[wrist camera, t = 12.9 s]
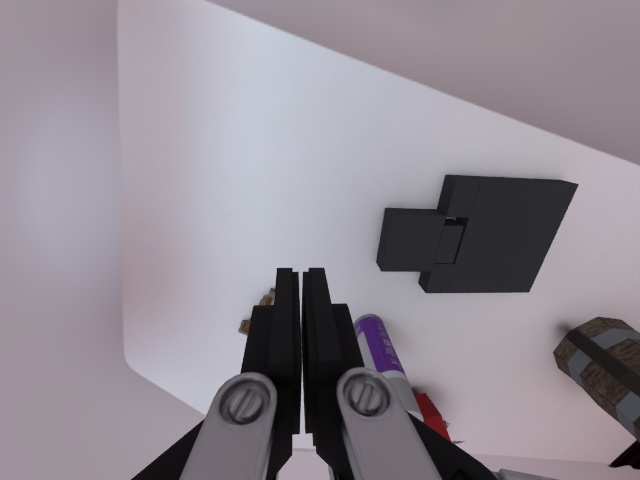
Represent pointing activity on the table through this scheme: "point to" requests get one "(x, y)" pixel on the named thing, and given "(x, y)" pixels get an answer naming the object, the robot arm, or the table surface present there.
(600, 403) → the mug
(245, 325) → the brown jointed two-tone fixture
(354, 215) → the table surface
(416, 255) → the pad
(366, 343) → the container
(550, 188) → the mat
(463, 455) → the robot arm
